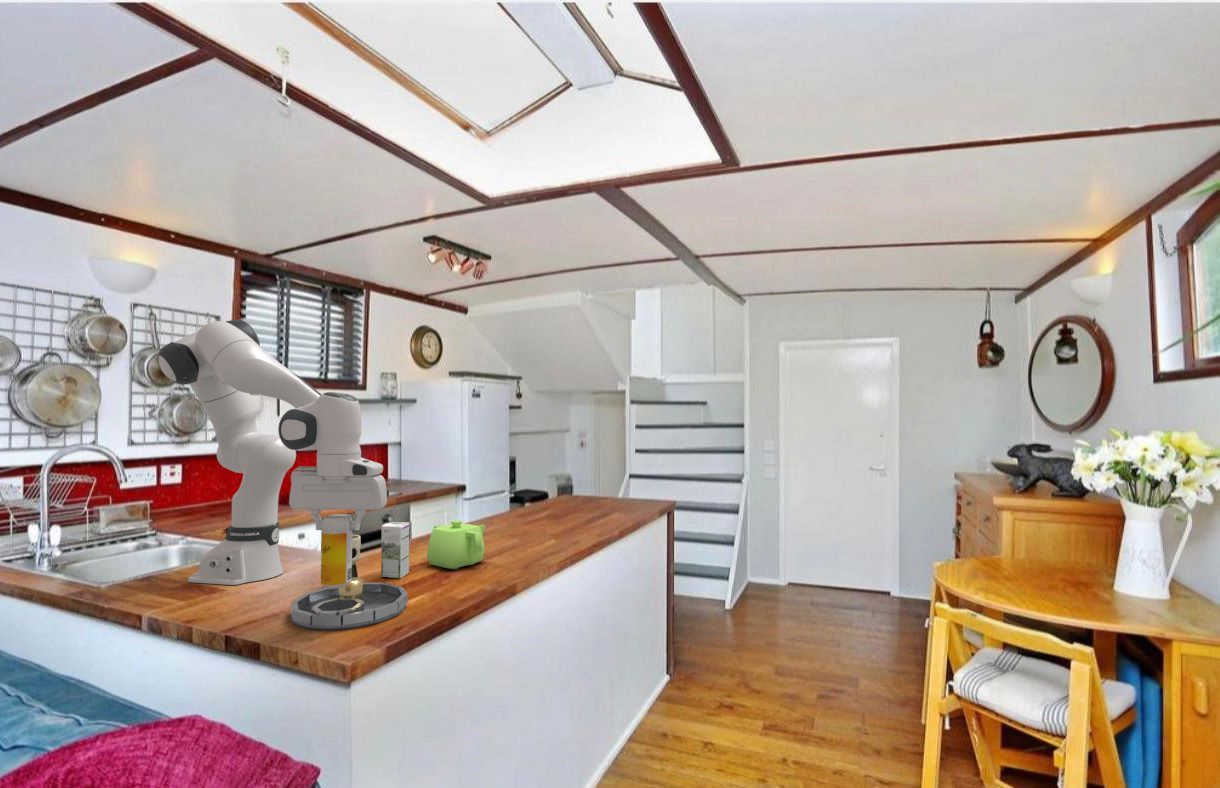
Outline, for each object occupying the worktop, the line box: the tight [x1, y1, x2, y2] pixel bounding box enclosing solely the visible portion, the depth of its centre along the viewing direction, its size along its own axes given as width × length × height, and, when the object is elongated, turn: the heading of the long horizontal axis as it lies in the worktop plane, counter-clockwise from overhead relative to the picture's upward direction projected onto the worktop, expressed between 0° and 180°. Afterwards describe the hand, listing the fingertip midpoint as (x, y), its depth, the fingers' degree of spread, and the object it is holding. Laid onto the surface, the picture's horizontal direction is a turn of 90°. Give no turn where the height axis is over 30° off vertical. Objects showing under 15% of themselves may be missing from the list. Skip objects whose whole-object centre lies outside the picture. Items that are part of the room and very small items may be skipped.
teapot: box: [426, 519, 486, 570], centre depth 181 cm, size 18×20×13 cm
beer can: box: [320, 513, 354, 589], centre depth 131 cm, size 6×6×15 cm
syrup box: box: [380, 521, 410, 579], centre depth 167 cm, size 6×6×14 cm
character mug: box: [352, 534, 362, 577], centre depth 156 cm, size 11×7×13 cm, turn 174°
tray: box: [290, 576, 409, 631], centre depth 138 cm, size 24×24×7 cm
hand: (338, 529), depth 131 cm, fingers closed on beer can, 6 cm apart
